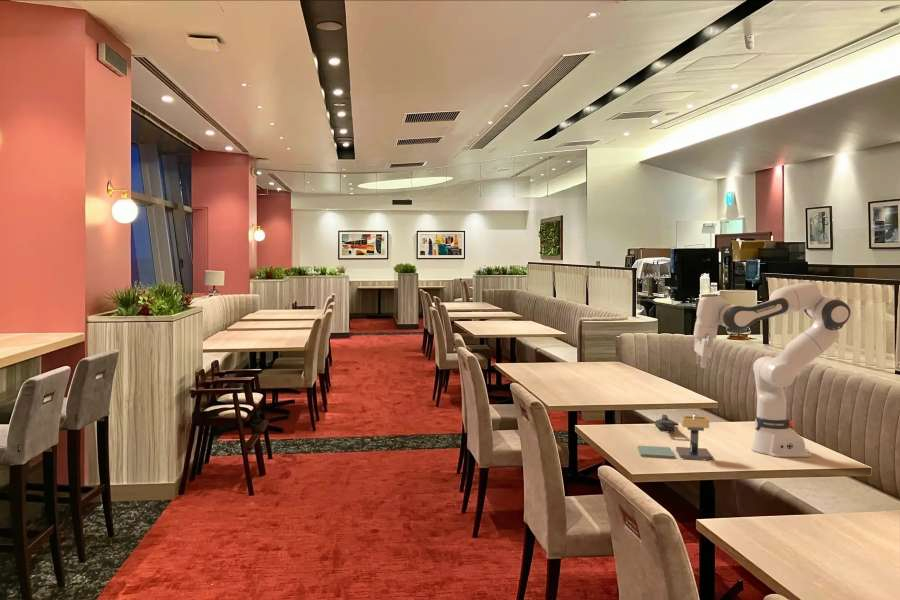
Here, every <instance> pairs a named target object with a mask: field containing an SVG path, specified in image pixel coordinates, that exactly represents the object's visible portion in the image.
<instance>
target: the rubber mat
mask: <svg viewBox="0 0 900 600" xmlns="http://www.w3.org/2000/svg"><path fill="white" fill-rule="evenodd" d="M637 449H638V450H637V451H638V452H639V454H640V457H641V456H647V457H646V458H658V457H662V458H661V459H675V457H676V456H675V454H674V453H673V450H672V449H671V447H670V446H668V447H667V446H653V445H637ZM649 456H650V457H649Z"/></svg>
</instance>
